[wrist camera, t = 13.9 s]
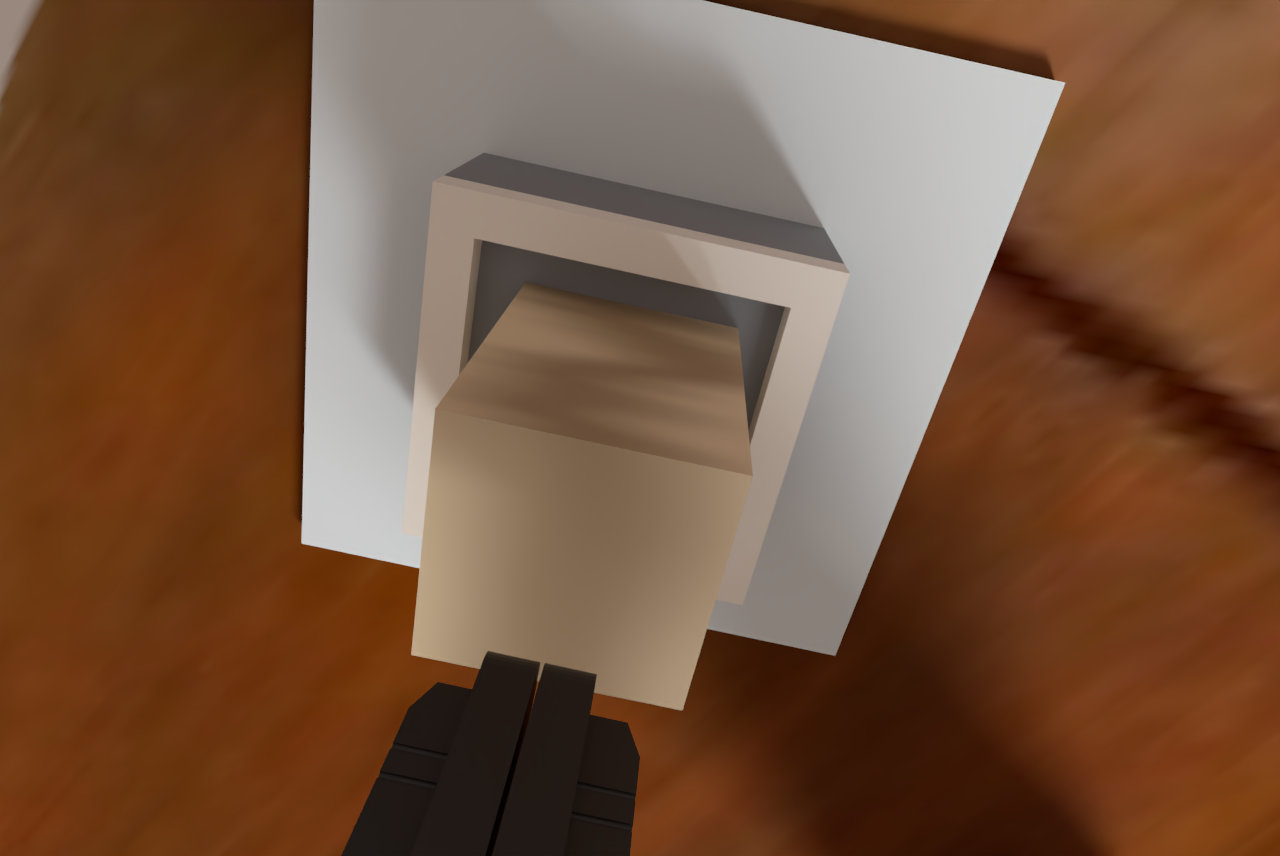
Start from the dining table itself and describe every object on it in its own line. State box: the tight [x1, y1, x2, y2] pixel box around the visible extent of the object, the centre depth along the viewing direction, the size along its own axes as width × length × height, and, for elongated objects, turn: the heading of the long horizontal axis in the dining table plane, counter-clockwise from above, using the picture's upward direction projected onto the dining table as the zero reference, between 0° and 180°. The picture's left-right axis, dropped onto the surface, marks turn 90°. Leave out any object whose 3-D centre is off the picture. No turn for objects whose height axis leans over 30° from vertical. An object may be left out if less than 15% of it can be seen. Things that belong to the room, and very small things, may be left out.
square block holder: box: [302, 0, 1065, 656], centre depth 22 cm, size 18×18×5 cm
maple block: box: [411, 282, 753, 710], centre depth 17 cm, size 5×5×7 cm
